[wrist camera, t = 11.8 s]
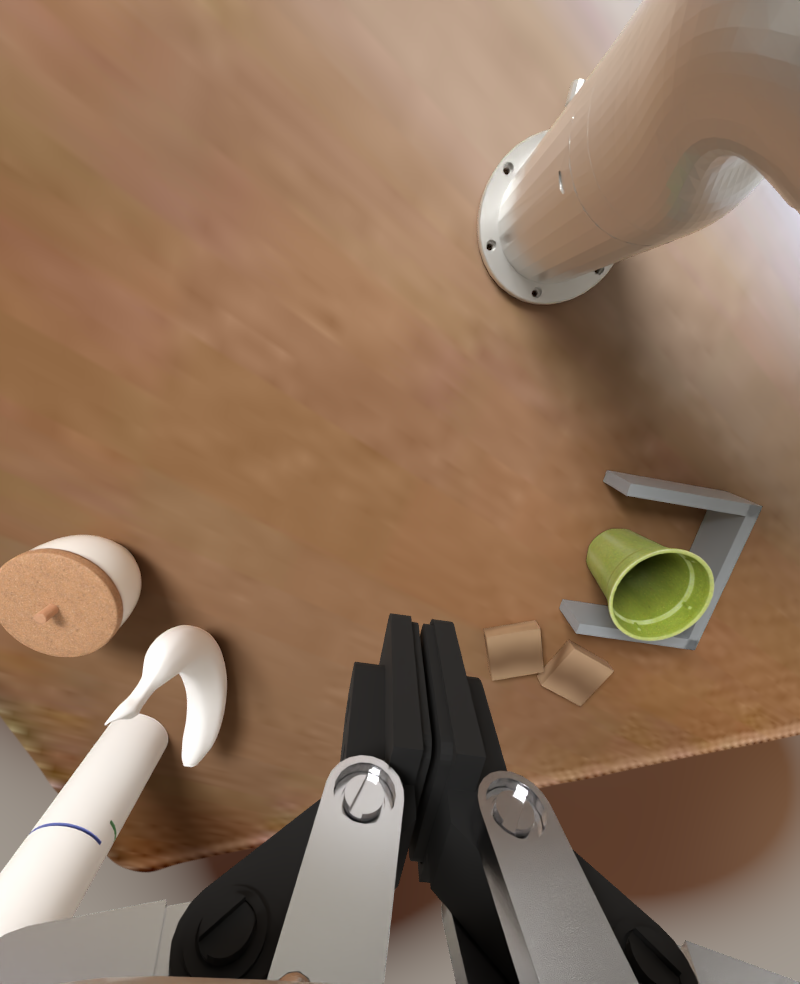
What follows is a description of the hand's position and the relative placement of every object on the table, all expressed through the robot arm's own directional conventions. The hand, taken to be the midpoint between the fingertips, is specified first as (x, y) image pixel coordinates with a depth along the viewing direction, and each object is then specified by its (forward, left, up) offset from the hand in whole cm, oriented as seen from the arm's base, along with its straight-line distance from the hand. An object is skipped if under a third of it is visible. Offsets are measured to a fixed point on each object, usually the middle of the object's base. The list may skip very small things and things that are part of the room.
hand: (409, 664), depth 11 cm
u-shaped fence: (+8, +28, -32) cm, 43 cm away
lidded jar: (+19, -27, -32) cm, 46 cm away
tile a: (+22, +18, -33) cm, 43 cm away
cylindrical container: (+42, -24, -32) cm, 58 cm away
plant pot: (+9, +26, -32) cm, 42 cm away
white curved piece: (+30, -16, -32) cm, 47 cm away
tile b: (+24, +26, -33) cm, 48 cm away
